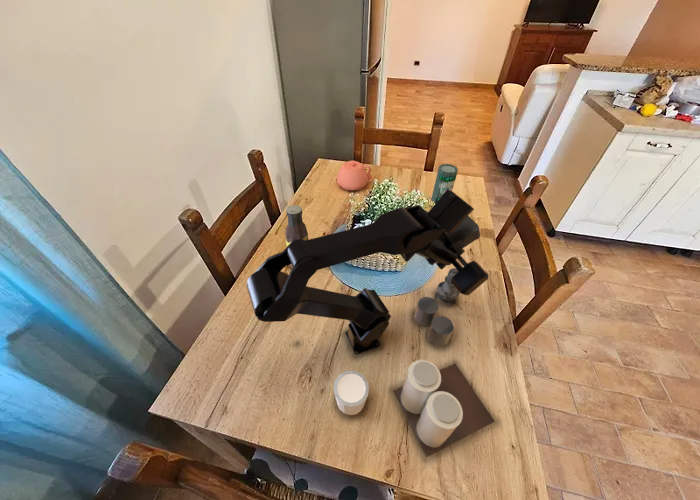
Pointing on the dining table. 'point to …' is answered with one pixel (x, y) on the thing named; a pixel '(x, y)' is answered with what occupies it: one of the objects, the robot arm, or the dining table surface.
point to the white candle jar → (351, 392)
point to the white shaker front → (439, 419)
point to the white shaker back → (419, 385)
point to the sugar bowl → (353, 175)
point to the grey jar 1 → (426, 311)
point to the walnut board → (468, 399)
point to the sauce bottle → (295, 225)
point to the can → (444, 180)
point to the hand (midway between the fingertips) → (464, 262)
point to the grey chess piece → (447, 289)
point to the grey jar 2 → (440, 331)
